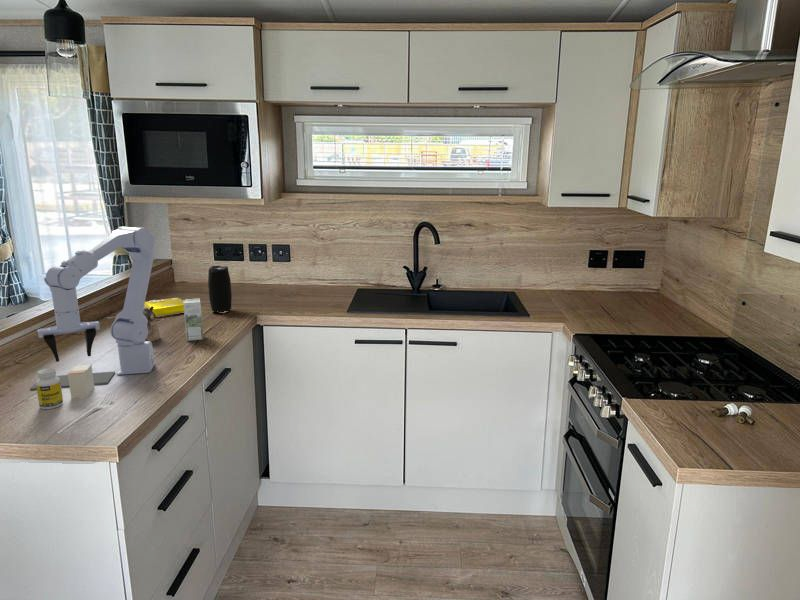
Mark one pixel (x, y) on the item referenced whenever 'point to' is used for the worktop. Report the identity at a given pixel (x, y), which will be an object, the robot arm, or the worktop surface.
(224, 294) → the portable speaker
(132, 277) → the robot arm
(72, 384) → the card box
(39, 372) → the supplement bottle
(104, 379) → the rubber mat
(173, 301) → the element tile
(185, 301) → the syrup box
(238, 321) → the worktop surface
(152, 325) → the figurine
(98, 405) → the fork
